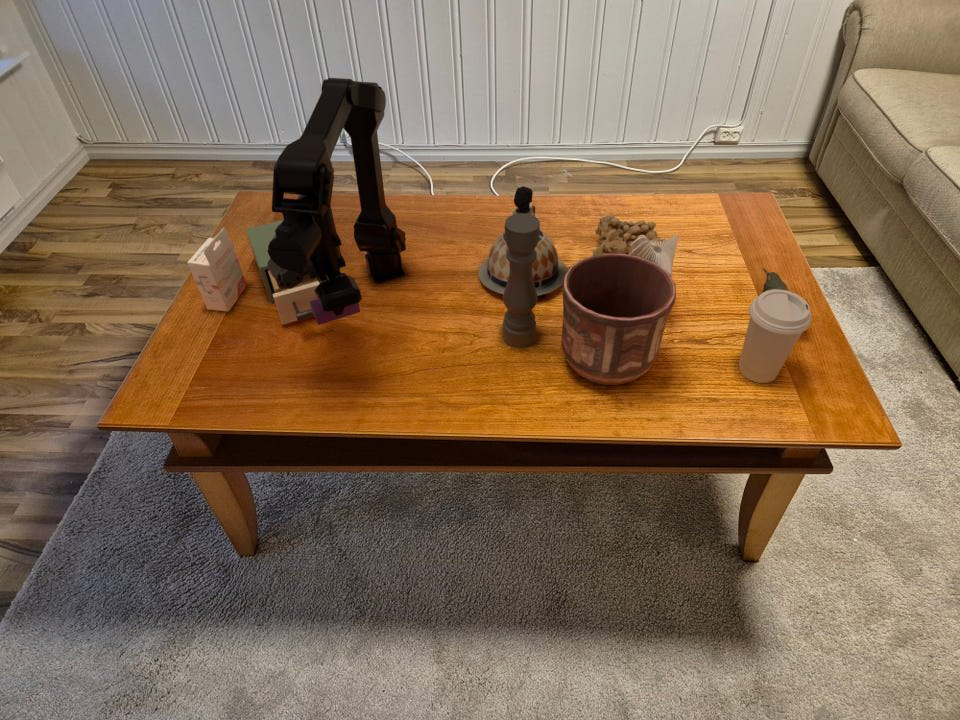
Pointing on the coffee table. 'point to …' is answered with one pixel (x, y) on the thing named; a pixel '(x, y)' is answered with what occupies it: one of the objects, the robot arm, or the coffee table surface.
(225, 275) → the ink cartridge box
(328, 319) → the purple box
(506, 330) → the candle holder
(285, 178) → the robot arm
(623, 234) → the mineral formation
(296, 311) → the drawer
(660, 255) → the shell sculpture
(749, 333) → the coffee cup
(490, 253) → the patterned domed piece
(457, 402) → the coffee table surface
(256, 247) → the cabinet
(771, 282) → the sculpture
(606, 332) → the pottery
